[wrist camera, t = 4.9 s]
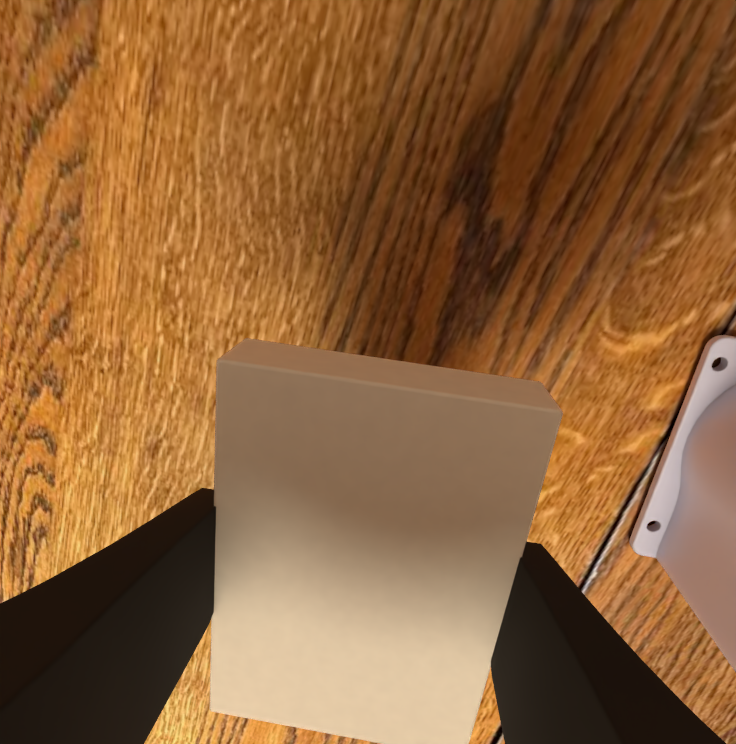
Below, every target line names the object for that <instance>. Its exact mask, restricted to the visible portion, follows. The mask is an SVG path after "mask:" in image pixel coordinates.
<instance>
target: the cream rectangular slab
mask: <svg viewBox="0 0 736 744" xmlns="http://www.w3.org/2000/svg"><path fill="white" fill-rule="evenodd" d="M562 415H563V413H562V410H561V409H560V407H559V406H558V405H557V403H556V402H555V400H554V399H553V398H552V396H551V395H550V394H549V392H548V391H547V390H546V388H545V387H544V385H543V384H542V383H541V382H539V381H532V380H525V379H518V378H512V377H505V376H498V375H491V374H485V373H478V372H471V371H464V370H458V369H451V368H444V367H437V366H431V365H424V364H417V363H411V362H404V361H397V360H390V359H384V358H377V357H370V356H363V355H357V354H350V353H343V352H336V351H330V350H323V349H316V348H309V347H303V346H296V345H289V344H282V343H276V342H269V341H262V340H255V339H249V338H247V339H244V340H243V341H242V342H240V343H239V344H237V345H236V346H235V347H233V348H232V349H231V350H229V351H228V352H227V353H225V354H224V355H223V356H221V357H220V358H219V359H218V360H217V374H216V424H215V473H214V506H216V535H215V580H214V613H213V615H212V623H211V673H210V711H212V712H217V713H223V714H228V715H233V716H239V717H244V718H249V719H254V720H260V721H265V722H270V723H276V724H281V725H286V726H291V727H297V728H302V729H307V730H313V731H318V732H323V733H328V734H334V735H339V736H344V737H350V738H355V739H360V740H365V741H371V742H376V743H381V744H469V741H470V737H471V734H472V730H473V727H474V723H475V720H476V716H477V713H478V709H479V706H480V702H481V699H482V695H483V692H484V688H485V685H486V681H487V678H488V674H489V671H490V667H491V658H492V655H493V651H494V648H495V644H496V641H497V637H498V634H499V630H500V627H501V623H502V620H503V616H504V613H505V609H506V605H507V602H508V598H509V595H510V591H511V588H512V584H513V581H514V577H515V574H516V570H517V567H518V563H519V560H520V557H522V555H523V551H524V548H525V544H526V541H527V537H528V534H529V530H530V527H531V523H532V520H533V516H534V513H535V509H536V506H537V502H538V499H539V495H540V492H541V488H542V485H543V481H544V478H545V474H546V471H547V467H548V464H549V460H550V457H551V453H552V450H553V446H554V443H555V439H556V436H557V432H558V429H559V425H560V422H561V418H562Z"/></svg>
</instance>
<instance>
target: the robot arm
mask: <svg viewBox="0 0 736 744" xmlns="http://www.w3.org/2000/svg"><path fill="white" fill-rule="evenodd" d="M719 357H721V362H720V364H719V365H718V366H717V367H715V368H712V363H713V361H714V360H715V359H717V358H719ZM651 521H656V522H655V523H654V524H653V525H651V526H647V525H648V523H649V522H651ZM215 535H216V506H214V490H212V489H206V488H201V489H200V490H198V491H196V492H195V493H193V494H191V495H190V496H188V497H186V498H185V499H183V500H182V501H180V502H179V503H177V504H175V505H174V506H172V507H171V508H169V509H168V510H166V511H164V512H163V513H161V514H160V515H158V516H157V517H155V518H153V519H152V520H150V521H149V522H147V523H145V524H144V525H142V526H141V527H139V528H137V529H136V530H134V531H132V532H131V533H129V534H128V535H126V536H124V537H123V538H121V539H119V540H118V541H116V542H115V543H113V544H111V545H109V546H108V547H106V548H104V549H102V550H101V551H99V552H97V553H95V554H93V555H92V556H90V557H88V558H86V559H85V560H83V561H81V562H79V563H77V564H76V565H74V566H72V567H70V568H69V569H67V570H65V571H63V572H61V573H60V574H58V575H56V576H54V577H52V578H51V579H49V580H47V581H45V582H43V583H41V584H39V585H37V586H35V587H33V588H31V589H29V590H27V591H25V592H23V593H21V594H19V595H17V596H15V597H13V598H11V599H9V600H7V601H5V602H3V603H0V744H144V742H145V741H146V739H147V737H148V735H149V733H150V731H151V730H152V728H153V726H154V724H155V722H156V721H157V719H158V717H159V715H160V713H161V711H162V710H163V708H164V706H165V704H166V702H167V700H168V699H169V697H170V695H171V693H172V691H173V689H174V688H175V686H176V684H177V682H178V680H179V679H180V677H181V675H182V673H183V671H184V669H185V668H186V666H187V664H188V662H189V660H190V658H191V656H192V655H193V653H194V651H195V649H196V647H197V645H198V644H199V642H200V640H201V638H202V636H203V634H204V632H205V630H206V629H207V627H208V625H209V623H210V620H211V618H212V615H213V613H214V580H215ZM629 543H630V546H631V547H632V549H633V550H634V552H636V553H637V554H639V555H643V556H648V557H654V558H657V560H658V561H659V563H660V564H661V566H662V567H663V568H664V570H665V571H666V573H667V574H668V576H669V577H670V578H671V580H672V581H673V583H674V584H675V586H676V587H677V589H678V590H679V591H680V593H681V594H682V596H683V597H684V599H685V600H686V601H687V603H688V604H689V606H690V607H691V609H692V610H693V612H694V613H695V614H696V616H697V617H698V619H699V620H700V622H701V623H702V624H703V626H704V627H705V629H706V630H707V632H708V633H709V635H710V636H711V637H712V639H713V640H714V642H715V643H716V645H717V646H718V647H719V649H720V650H721V652H722V653H723V655H724V656H725V658H726V659H727V660H728V662H729V663H730V665H731V666H732V668H733V669H734V670H735V672H736V337H734V336H727V335H718V336H715V337H713V338H712V339H710V340H709V341H708V342H707V344H706V346H705V348H704V350H703V353H702V356H701V358H700V361H699V363H698V366H697V368H696V371H695V373H694V376H693V379H692V381H691V384H690V386H689V389H688V391H687V394H686V396H685V399H684V402H683V404H682V407H681V409H680V412H679V414H678V417H677V419H676V422H675V425H674V427H673V430H672V432H671V435H670V437H669V440H668V442H667V445H666V448H665V450H664V453H663V455H662V458H661V460H660V463H659V465H658V468H657V471H656V473H655V476H654V478H653V481H652V483H651V486H650V488H649V491H648V494H647V496H646V499H645V501H644V504H643V506H642V509H641V512H640V514H639V517H638V519H637V522H636V524H635V527H634V529H633V532H632V535H631V537H630V541H629ZM491 671H492V678H493V684H494V689H495V694H496V699H497V705H498V710H499V715H500V720H501V725H502V730H503V735H504V740H505V744H726V743H725V742H724V741H723V740H722V739H721V738H720V737H718V736H717V735H716V734H715V733H714V732H713V731H712V730H711V729H710V728H709V727H708V726H707V725H706V724H705V723H703V722H702V721H701V720H700V719H699V718H698V717H697V716H696V715H695V714H694V713H693V712H692V711H691V710H690V709H689V708H688V707H687V706H686V705H685V704H684V703H683V702H682V701H681V700H680V699H679V698H678V697H677V696H676V695H675V694H674V693H673V692H672V691H671V690H670V689H669V688H668V687H667V686H666V685H665V684H664V683H663V682H662V680H661V679H660V678H659V677H658V676H657V675H656V674H655V673H654V672H653V671H652V670H651V669H650V668H649V667H648V666H647V665H646V664H645V663H644V662H643V661H642V660H641V659H640V657H639V656H638V655H637V654H636V653H635V652H634V651H633V650H632V649H631V648H630V647H629V645H628V644H627V643H626V642H625V641H624V640H623V639H622V638H621V637H620V636H619V634H618V633H617V632H616V631H615V630H614V629H613V628H612V627H611V625H610V624H609V623H608V622H607V621H606V620H605V619H604V617H603V616H602V615H601V614H600V613H599V612H598V611H597V609H596V608H595V607H594V606H593V605H592V604H591V602H590V601H589V600H588V599H587V598H586V597H585V595H584V594H583V593H582V592H581V591H580V589H579V588H578V587H577V586H576V585H575V583H574V582H573V581H572V580H571V579H570V578H569V576H568V575H567V574H566V573H565V572H564V570H563V569H562V568H561V567H560V566H559V564H558V563H557V562H556V561H555V560H554V558H553V557H552V556H551V555H550V554H549V553H548V551H547V550H546V549H545V548H544V547H543V546H542V545H541V544H538V543H532V542H526V544H525V548H524V551H523V555H522V557H520V560H519V563H518V567H517V570H516V574H515V577H514V581H513V584H512V588H511V591H510V595H509V598H508V602H507V605H506V609H505V613H504V616H503V620H502V623H501V627H500V630H499V634H498V637H497V641H496V644H495V648H494V651H493V655H492V658H491Z"/></svg>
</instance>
